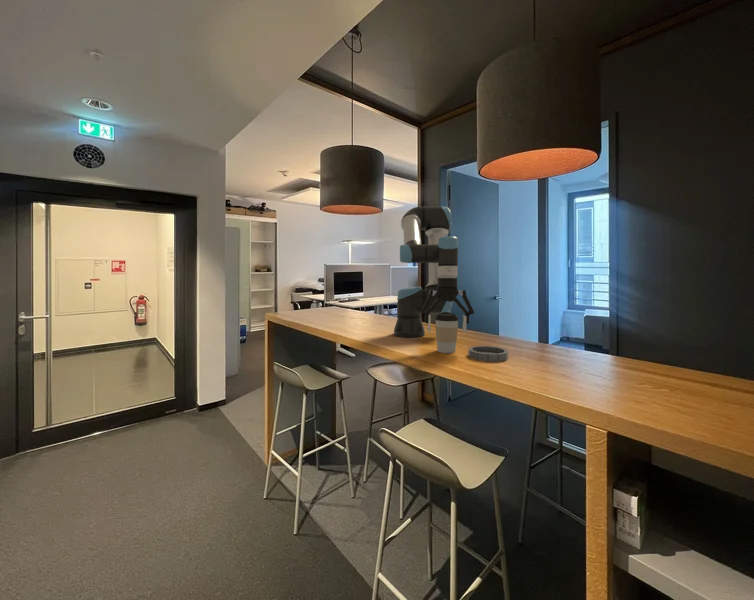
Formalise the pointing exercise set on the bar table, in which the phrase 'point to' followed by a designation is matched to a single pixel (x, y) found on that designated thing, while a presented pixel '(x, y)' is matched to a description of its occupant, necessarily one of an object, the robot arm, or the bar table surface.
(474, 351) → the tray
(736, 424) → the bar table surface
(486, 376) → the bar table surface
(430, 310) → the robot arm
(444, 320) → the coffee cup
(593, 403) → the bar table surface
